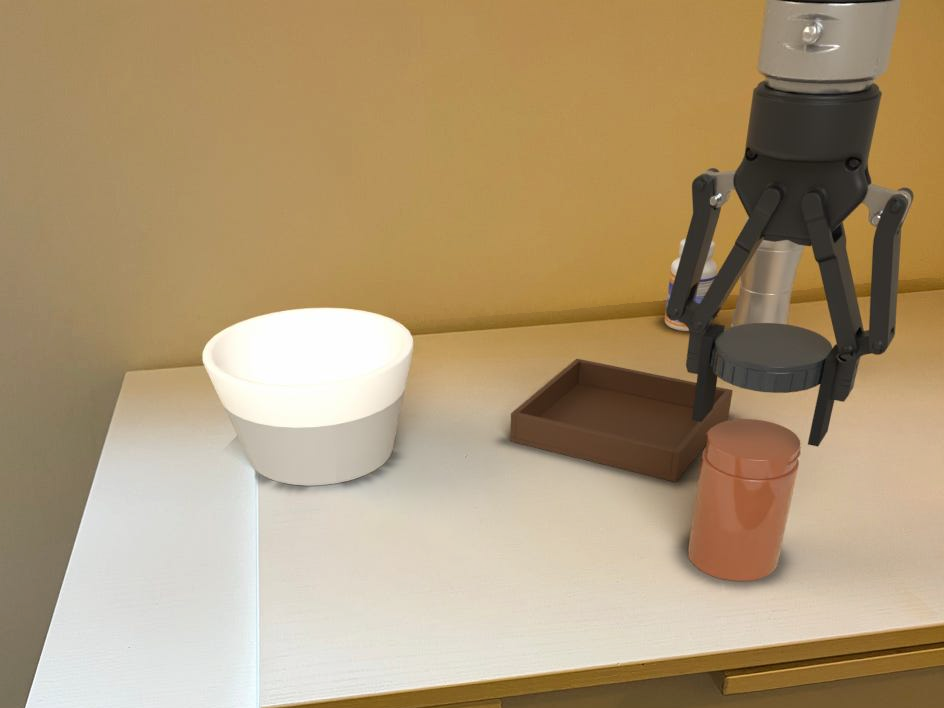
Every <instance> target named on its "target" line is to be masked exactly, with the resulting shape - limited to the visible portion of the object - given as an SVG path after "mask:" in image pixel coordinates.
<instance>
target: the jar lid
mask: <svg viewBox="0 0 944 708" xmlns="http://www.w3.org/2000/svg"><path fill="white" fill-rule="evenodd" d="M832 348H833V345H832V343H831V341H829V339H827V337H825V336H824V335H822V334H820V333H818V332H816V331H813V330H811V329H808V328H804V327H801V326H797V325H791V324H788V325H786V324H777V323H752V324H744V325H738V326H734V327H731V328H730V327H728V328H725V329H724V331H722V332H721V333H720V334H719V335H718V336H717V337H716V339H715V343H714V349H713V351H712V359H711V367H712V369H713V372H714V373H715V374H716V375H717V376H718V377H717V378H719V379H720V380H722V381H723V382H725V383H728V384H730V385H732V386H735V387H737V388H740V389H745V390H748V391H754V392H760V393H770V394H771V393H772V394H774V393H775V394H787V393H797V392H804V391H808V390H810V389H813V388H815V387H818V386H820V383H821V378H822V373H823V368H824V364H825V359H826V357H827V355H828V354H829V353H830V351H831V350H832Z"/></svg>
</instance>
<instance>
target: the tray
mask: <svg viewBox="0 0 944 708" xmlns="http://www.w3.org/2000/svg"><path fill="white" fill-rule="evenodd" d="M696 383H697V382H694V381H689V380H686V379H685V380H684V379H680V378H676V377H670V376H666V375H660V374H654V373H651V372H647V371H641V370H634V369H630V368H626V367H620V366H615V365H611V364H605V363H600V362H597V361H590V360H586V359H581V358H576V359H574V360H573V361H572V362H571V363H569V364H568V365H567V366H566V367H564V368H563V369H562V370H561V371H560V372H558V374H556V375H555V376H554V377H552V378H551V379H550V380H549V381H548V382H547V383H545V384H544V385H543V386H542V387H541V388H539V389H538V390H537V391H535V393H534V394H532V395H531V396H530V397H528V399H526V400H525V401H524V402H522V403H521V405H519V406H518V407H517V408H515V410H513V411H512V412H511V413H510V431H509V432H510V433H509V434H510V438H509V439H510V440H509V441H510V442H512V443H514V444H515V443H516V444H520V445H524V446H526V447H527V446H528V447H530V448H531V447H533V448H536V449H540V450H545V451H547V452H552V453H556V454H560V455H564V456H568V457H572V458H577V459H580V460H584V461H589V462H592V463H598V464H601V465H605V466H609V467H614V468H617V469H621V470H625V471H629V472H633V473H636V474H641V475H645V476H650V477H654V478H658V479H662V480H667V481H670V482H674V483H676V482H677V481H678V480H679V479H680V477H681V476H682V475H683V474H684V473H685V471H686V470H687V469H688V468H689V466H690V465H691V464H692V462H693V461H694V460H695V459H696V458H697V456H698V455H699V454H700V453H701V452H702V451H703V450H704V449H705V447H706V444H707V437H708V435H707V432H708V431H709V429H710V428H712V427H714V426H715V425H717V424H719V423H722V422H725V421H727V419H728V418H729V416H730V409H731V403H732V397H733V393H734V391H733V389H731V388H730V389H729V388H724V387H719V386H716V391H715V398H714V405H713V409H712V410H711V411H710V412H709V414H708V415H707V416H706V417H705V418H704V419H703V421H702V422H699V421H694V420H692V414H693V407H694V399H695V391H696Z"/></svg>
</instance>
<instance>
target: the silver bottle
mask: <svg viewBox="0 0 944 708" xmlns="http://www.w3.org/2000/svg"><path fill="white" fill-rule="evenodd" d="M748 219H749V217H748V216H747V217H746V219H745V221H744V224H743V225H742V228H743V227H744V226H745V224H746V222H747V221H748ZM805 247H806V246H804V245H798V244H796V243H793V242H791V241H789V240H784V241H777V242H773V241H766V240H763V241H762V242H761V244H760V245H759V247H758V249H757V250H756V252H755V254H754V255H753V257H752V259H751V260H750V262H749V263H748V265H747V267H746V268H745V270H744V272H743V273H742V275H741V277H740V283H739V290H738V291H739V292H738V296H737V301H736V306H735V310H734V314H733V318H732V322H731V324H730V326H729V328H731V327H734V326H738V325H744V324H752V323H777V324H786V325H789V321H790V309H791V297H792V294H793V289H794V288H793V286H794V284H795V280H796V276H797V272H798V268H799V265H800V262H801V259H802V255H803V252H804V250H805Z"/></svg>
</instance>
